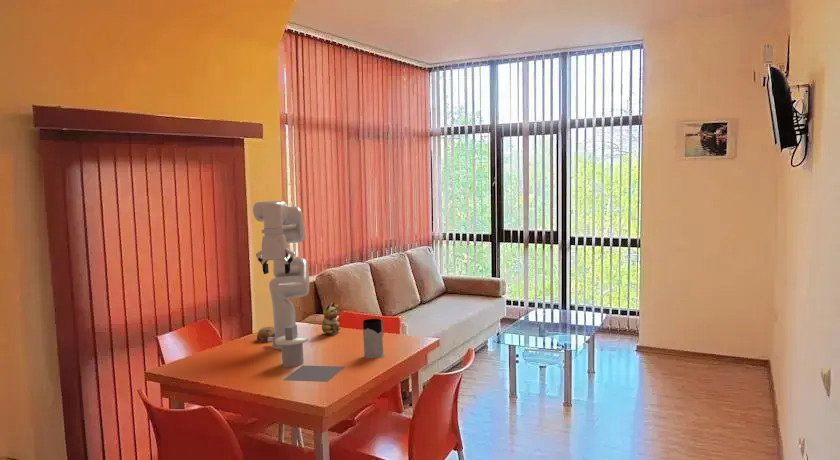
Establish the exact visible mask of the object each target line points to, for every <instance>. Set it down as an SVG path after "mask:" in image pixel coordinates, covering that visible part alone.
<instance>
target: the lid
mask: <svg viewBox="0 0 840 460" xmlns="http://www.w3.org/2000/svg"><path fill="white" fill-rule="evenodd" d="M308 341H309V336H308V335H306V334H301V333H299V334H298V325H297V324H296V325H289V326H287V327H285V336H282V337H279V338H277V339H275V343H276V344H278V345H296V344H301V343H306V342H308Z"/></svg>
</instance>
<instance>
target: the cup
mask: <svg viewBox="0 0 840 460" xmlns="http://www.w3.org/2000/svg"><path fill="white" fill-rule="evenodd" d="M281 348H282V350H281V359H282V361H281V362H282V366H283V367H285V368H286V367H287V368H294V367H299V366H300V367H301V366H303V364H305V361H304V360H305V359H304V347H303V343H301V344H296V345H281Z"/></svg>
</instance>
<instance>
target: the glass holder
mask: <svg viewBox="0 0 840 460" xmlns="http://www.w3.org/2000/svg"><path fill="white" fill-rule="evenodd" d="M362 328H363V329H362V330H363V331H362V332H363V351H364V354H363V358H367V359H383V358H384V357H386V355H385V353H384V340H383V337H384V332H385V323H384V320H383V319H381V318H370V319H369V318H368V319H364V320H363V321H362Z"/></svg>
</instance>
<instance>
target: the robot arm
mask: <svg viewBox="0 0 840 460" xmlns="http://www.w3.org/2000/svg"><path fill="white" fill-rule="evenodd" d="M252 213H253V216H254V219H255V220H256V221H258V222H262V223H263V229H261V233H262V234H264V235H263V236H262V240H261V250H260V251H258V252H256V253H255V257H256V259H257V261H258V262H259V263H260V264H261V265H262V272H263V275H266V274H269V263H268V261H273V265H272V266H273V270H272V271H273V276H274V278H272V279H270V281H269V284H268V286H269V294H270V297H271V302H272V303H271V304H272V315H273V328H274V331H275V337H268V342H267V343H272V345H271V348H272V349H274V350H278V351H279V350H280V351H282V348H281V345H278V344H276V343H275V339H277V338H279V337H282V336H285V327H287V326H289V325H297V322H296V310H295V305H294V303H293V302H292V301H291V300H290V298H291V299H292V298H301V297H302V298H303V297H306V296H308V295H309V293H310V268H309V263H308V261H307V259H306V258H303V257H296V252H295V251H293V250H291V249H289V248H288V244H293V243H294V244H297V243H302V242H304V240H305V238H306V231H305V221H304V215H303V211H302V210H301V208H300V207H299V206H288V204H287V203H286V201H283V200H267V201H257V202H254V204H253V207H252ZM295 257H296V258H295Z"/></svg>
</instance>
